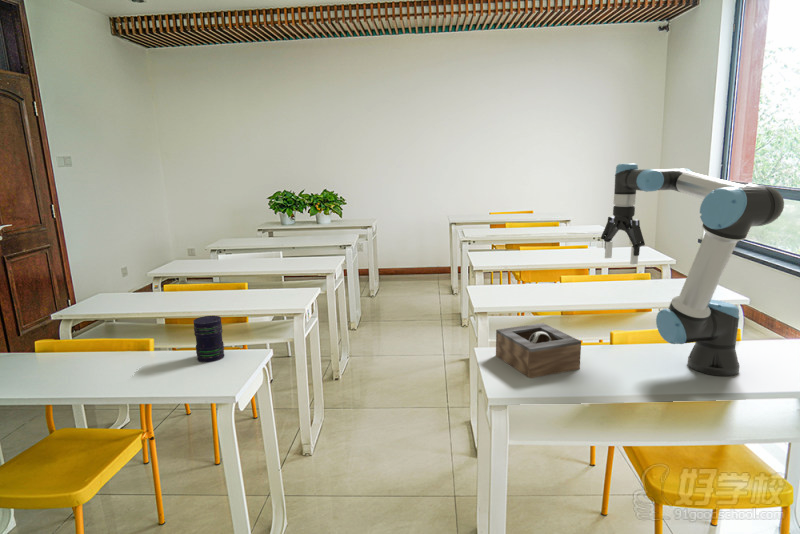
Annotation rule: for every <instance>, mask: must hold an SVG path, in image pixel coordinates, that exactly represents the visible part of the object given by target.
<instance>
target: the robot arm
mask: <svg viewBox="0 0 800 534" xmlns="http://www.w3.org/2000/svg"><path fill="white" fill-rule="evenodd" d="M638 166H639V165H638V164H637V163H619V164H617V165H616V166H615V174H614V194H613V208H612V215H613V216H608V217H607V222H606V225H605V228H604V229H603V231H602V234H601V236H600V239H601V240H603V241H604V259H612V257H613V256H612V255H613V243H614V242H613V241H612V240H613V238H614V237H615V236H616V234H617V233H619V231H624V232H625V233H626V234H627V237H628V238H629V240H630V242H631V244H632V246H631V248H630V249H631V250H630V262H629V263H630V265H638V262H639V256H640V251H641V249H640V248H641V247H643V246H645V245H646V244H645V239H644V237H643V233H642V228H641V226H640V219H634V218H633V217H634V216H635V215H636V211H635V210H636V207H635V205H636V199H637V198H636V195H637V191H640V192H641V191H642V192H646V193H647V192H657V191H675V192H678V193H682V194H686V195H689V196H692V197H695V198H699V199H703V200H702V201H701V204H700V206H699V214H700V217H699V218H700V220H701V222H702V228H703V230H704V235H703V238H702V240H701V243H700V244H699V245H700V246H699V247H698V250H697V253H696V255H695V257H694V260H693V262H692V264H691V267H690V269H689V272H688V274H687V277H686V278H685V281H684V283H683V286H682V288H681V291H680V293H679V295H677V296H674V297H673V298H671V302H670V303H669V306H668V308H663V309H661V310H659V311H658V312H657V315H656V318H655V320H656V321H655V322H656V323H655V325H656V328H657V331H658V333H659V335H660V336H661V338H662V339H663V340H664V341H666V342H667V343H669V344H672V345H684V344H691V343H694V345H693V347H692V349H691V350H690V353H689V355H688V357H687V366H688V367H689V368H690V369H693V370H694V371H697V372H700V373H703V374H707V375H711V376H718V377H732V376H736V375H738V374H739V373H740V363H739V359H738V354H737V351H736V344H737V337H738V331H739V330H738V329H739V322H740V308H739V307H738V306H737V305H735V304H733V303H730V302H726V301H722V300H718V299H712V298H713V296H714V294H715V292H716V290H717V287H718V285H719V283H720V281H721V279H722V277H723V275H724V272H725V269H726V268H727V265H728V263H729V261H730V258H731V257H732V254H733V252H734V250H735V248H736V246H737V244H738V242H741V241H743V240H745V239H746V238H747V235H748V234H749V232H750V230H751V228H753V227H759V226H760V227H761V226H766V225H769V224H771V223H773V222H775V221H776V220H778V218H779V217H780V216H781V214H782V213H783V211H784V207H785V201H784V197H783V195H782V194H781V192H780V191H778V190H777V189H776V188H774V187H772V186H769V185H768V186H767V185H761V184H758V183H748V184H742V183H739V182H733V181H729V180H725V179H722V178H721V179H720V178H717V177H713V176H708V175H705V174H700V173H696V172H693V171H692V170H691V169H689V168H682V167H677V168H647V169H639V167H638Z"/></svg>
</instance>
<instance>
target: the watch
mask: <svg viewBox="0 0 800 534" xmlns="http://www.w3.org/2000/svg"><path fill="white" fill-rule="evenodd" d="M540 334H544V335H546V336H548V337H549V341H551V338H550V336H549V335H548V334H547V333H545V332H542V331H538V332H536V333H535V332H534V333H533V334H532V335H531V336H530V338H529V341H530V342H532V343H533V344H535V343H536V342H537V340H538V337H539V336H540Z"/></svg>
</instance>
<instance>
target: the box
mask: <svg viewBox="0 0 800 534" xmlns="http://www.w3.org/2000/svg"><path fill="white" fill-rule="evenodd" d="M538 331H542V332H545V333H547V334H548V335H549V336H550V338H551V341H549V337H548V336H546V335H544V334H540V336H539V337H538V340H537V342H536V343H535V344H533V343H532V342H530V341H529V338H530V336H531V335H532V334H533V333H534V332H535V333H536V332H538ZM495 332H496V333H495V335H496V336H495V356H496V357H497V358H499V359H501V361H503V362H505V363H506V364H507V365H509V366H511V367H512V368H514V369H515V370H516V371H518V372H520V373H521V374H523V375H524V376H526V377H527V378H529V379H533V378H538V377H543V376H547V375H548V376H549V375H555V374H559V373H560V374H561V373H565V372H571V371H577V370H580V368H581V356H582V355H581V353H582V352H581V351H582V341H581V340H580V339H577V338H575V337H573V336H571V335H569V334H567V333H564V332H563V331H560V330H558V329H556V328H554V327H552V326H550V325H549V324H546V323H544V322H542V323H541V322H540V323H534V324H528V325H527V324H526V325H519V326H513V327H512V326H511V327H506V328H505V327H503V328H498V329H496V330H495Z"/></svg>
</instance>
